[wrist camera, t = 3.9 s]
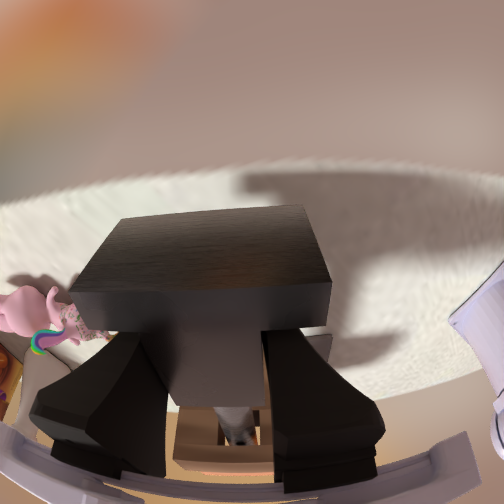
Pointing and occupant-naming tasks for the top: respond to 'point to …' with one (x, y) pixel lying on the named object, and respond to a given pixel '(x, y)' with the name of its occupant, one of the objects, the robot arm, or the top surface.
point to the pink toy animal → (44, 319)
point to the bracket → (222, 441)
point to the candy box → (8, 378)
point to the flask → (36, 386)
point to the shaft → (208, 299)
